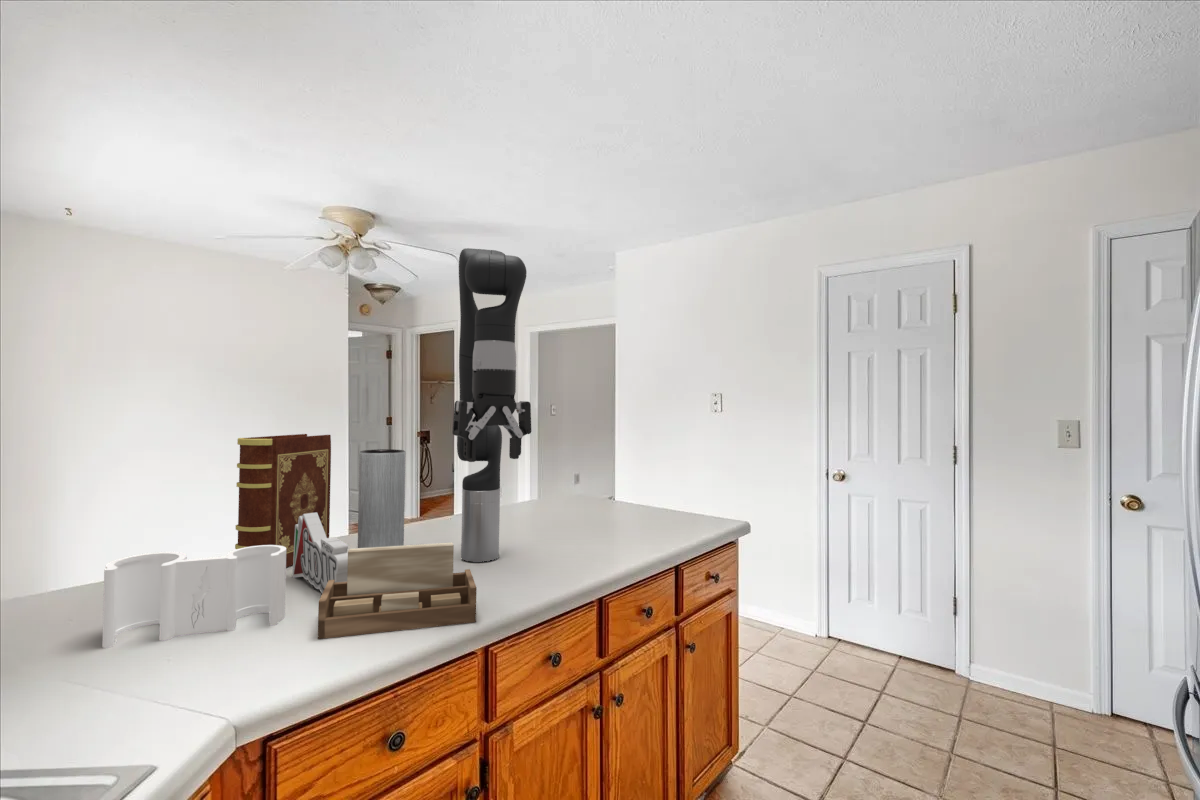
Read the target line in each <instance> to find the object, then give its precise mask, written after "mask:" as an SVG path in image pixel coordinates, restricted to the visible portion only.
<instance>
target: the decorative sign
mask: <svg viewBox="0 0 1200 800" xmlns="http://www.w3.org/2000/svg"><path fill="white" fill-rule="evenodd" d="M348 551H349V546H348V543H346V542H344V541H342V540H340V539H339V538H338V537H336V536H333V537H329V538H327V537H326V534H325V531H324V529H323V526H322V524H321V521H320V519H319V516H318V513H317V512H316V513H307V514H303V516H299V520H298V524H296V525H295V537H294V557H293V565H292V575H291V576H292V577H293V579H295V578H304V580H306V581H307V580H308V583H309V584H310V585H313V587H314V588H315V589H316V590H319V591H320V593H321V594H322V593H323V591H324V589H325V587H326V585H327V583H328V581H329V580H335V582H347V572H348Z"/></svg>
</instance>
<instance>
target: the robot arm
mask: <svg viewBox="0 0 1200 800" xmlns="http://www.w3.org/2000/svg"><path fill="white" fill-rule="evenodd" d="M526 281H527V267H526V265H525V263H524V261H523V260H522V259H521V258H520V257H518V256H515V255H509V254H508V255H507V254H505V253H504V252H502V251H499V250H494V249H482V248H469V247H468V248H463V249H462V250H461V251H460V253H459V258H458V286H459V290H458V291H459V306H460V308H459V310H460V311H459V312H460V315H459V316H460V317H459V318H460V321H459V322H460V323H459V325H460V326H459V329H460V330H459V348H458V349H459V350H458V351H459V352H458V373H459V374H458V375H459V376H458V377H459V383H458V384H459V400H455V402H454V404H453V405H454V407H453V417H452V418H453V419H452V420H453V422H452V435H454V436H456V449H457V450H456V452H457V456H458V458H459V460H461V462H468V463H475V462H487V464H486V465H485V467H484V468H482V469H480V470H479V471H477V472H474V473H471V474H468V475H466V476H464V477H463V478H462V481H461V482H462V484H461V486H462V487H461V488H462V489H461V493H462V495H461V544H460V546H461V547H460V548H461V549H460V558H462V559H464V560H466V561H465V562H468V561H473V562H472V563H485V562H484V561H487V562H491V561H490V560H492V561H495V560H497V559H499V557H500V521H501V520H500V516H501V515H500V512H501V511H500V510H501V460H502V459H501V458H502V445H503V433H502V429H501V426H502V428H503V427H504V428H505V430H506V431H507V432H508V434H509V435H510V437H509V449H508V452H509V453H508V454H509V459H512V460H518V459H519V457H520V456H521V454H522V438H523V437H524V436H526V435H530V434H531V432H532V409H531V402H530V401H526V400H525V401H524V400H523V401H521V400H520V401H518V402H516V400H515V395H516V391H517V390H516V387H517V385H516V384H517V383H516V382H517V379H516V378H517V351H516V343H515V342H516V319H517V311H518V308H519V304H520V300H521V296H522V293H523V291H524V287H525V284H526ZM474 294H478V295H488V296H489V295H490V296H503V297H504V296H505V297H504V298H505V299H504V301H503V302H502V303H500V304H498V305H494V306H488V307H483V308H480V309H478V306H477V304H476V301H475V298H474ZM515 411H516V413H517V415H518V422H517V420H516V418H515V417H514V416H513V414H514V413H515ZM496 558H497V559H496ZM462 559H461V560H462ZM494 559H495V560H494ZM464 560H463V561H464ZM482 561H483V562H482Z"/></svg>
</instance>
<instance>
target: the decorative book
mask: <svg viewBox="0 0 1200 800" xmlns="http://www.w3.org/2000/svg"><path fill="white" fill-rule="evenodd" d="M331 437H332V436H331V434H320V435H319V434H318V435H308V434H307V433H301V434H300V433H299V434H298V433H297V434H284V435H270V436H269V435H268V436H253V437H252V436H251V437H238V438H237V445H239V462H238V463H236V468H237V469H238V470H239V473H238V476H239V477H238V482H236V487H237V488H238V508H237V509H238V512H237V517H238V518H237V524H236V525H235V530H236V531H237V543H235V544H234V550H236V549H240V548H244V547H250V546H259V545H280V546H284V547H286V568H289V567H291V566H292V567H293V557H294V537H295V525H296V524H298V520H299V516H303V514H307V513H316V512H317V513H318V516H319V519H320V521H321V524H322V526H323V529H324V531H325V534H326V537H327V538H330V525H331V524H330V521H331V520H330V517H331V515H330V514H331V474H332V473H331V472H332V471H331V470H332V469H331V466H332V465H331V464H332V438H331Z"/></svg>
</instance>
